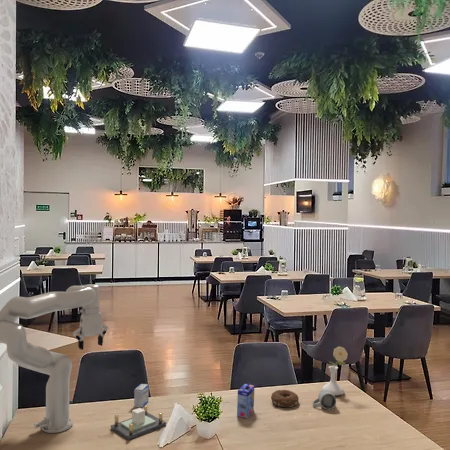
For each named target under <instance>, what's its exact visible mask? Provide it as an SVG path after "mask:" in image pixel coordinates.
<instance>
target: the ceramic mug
mask: <svg viewBox="0 0 450 450" xmlns="http://www.w3.org/2000/svg"><path fill="white" fill-rule="evenodd" d="M317 397H318V398H317V399H314V400H313V401H312V406H313V407H314V408H319V407H321V408H323V409H325V410H328V411H329V410H333V409H334V408H335V407H336V404H337V399H336V395H333V394H332V393H331V392H330V391H329V390H322V389H321V390H320V392H319V393H318V396H317Z"/></svg>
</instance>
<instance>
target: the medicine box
mask: <svg viewBox="0 0 450 450" xmlns="http://www.w3.org/2000/svg"><path fill="white" fill-rule="evenodd" d="M133 395H134V397H133V400H134V401H133V404H134V405H133V406H134V408H141V409H144V405H147V403H149V384H147V383H140V384H139V385H138V386H137V387H136V388H134V391H133Z"/></svg>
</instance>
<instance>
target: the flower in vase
mask: <svg viewBox="0 0 450 450" xmlns="http://www.w3.org/2000/svg"><path fill="white" fill-rule="evenodd" d="M348 355H349V354H348V352H347V350H346V348H345V347H342V346H337V347H336V348H333V358H334V359H335V360H336V362H335V363H334V362H331V361H330V360H328V362H329V364H332V365H329V366H328V369H329V371H330V381H329V382H327V383H325V384H324V385H323V387H322V388H321V391H322V390H329V391H330V392H331V393H332V394H333V395H334V396H340V395H343V394H345V389H344V388H343V387H342V386H341V385H340V383H338V382H337V380H336V373H337V370H338V369H339V367H338V366H336V365H337V364H338V365H339V366H344V365H346V362H345V361H346V360H347V359H348Z"/></svg>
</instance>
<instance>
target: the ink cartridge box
mask: <svg viewBox="0 0 450 450" xmlns="http://www.w3.org/2000/svg"><path fill="white" fill-rule="evenodd" d="M255 386H256V385H253V384H251V382H249V383H244V384H243V385H242V386H241V387H240V388H238V390H237V399H236V400H237V403H236V404H237V405H236V410H237V411H236V415H237V417H240V418H243V419H248V418H249V417H250V415H251V414H253V412H254V410H255V408H254V406H255Z"/></svg>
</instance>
